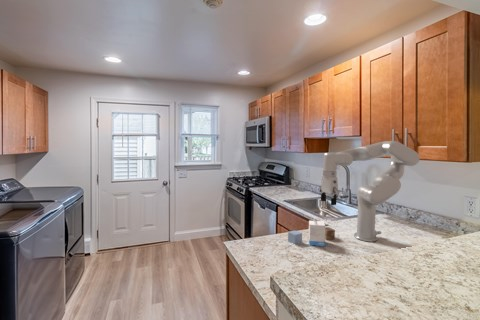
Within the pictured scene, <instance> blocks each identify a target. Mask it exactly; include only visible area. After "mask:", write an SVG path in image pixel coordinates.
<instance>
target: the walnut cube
mask: <svg viewBox="0 0 480 320" xmlns="http://www.w3.org/2000/svg"><path fill="white" fill-rule="evenodd" d="M335 236H336V230H335V229H334V228H332V227H330V226H328V227H326V226H325V241H330V240H335V238H336V237H335Z"/></svg>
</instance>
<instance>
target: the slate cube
mask: <svg viewBox="0 0 480 320" xmlns="http://www.w3.org/2000/svg"><path fill="white" fill-rule="evenodd" d="M287 242H289V243H291V244H292V243H293V244H292V245H294V244H295V245H298V244H297V243H299V244H301V242H302V243H303V233H302V232H300V231H297V230H295V229H294V230H291V231H288V232H287Z"/></svg>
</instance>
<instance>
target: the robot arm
mask: <svg viewBox="0 0 480 320" xmlns="http://www.w3.org/2000/svg"><path fill="white" fill-rule="evenodd" d="M387 156H388V157H389V156H390V165H389V167H388V168H387V169H385V171H383V172H382V173H380V174H378V175H377V176H375V178H374V179H373V181H372V185H369V184H362V185H360V186H359V187H358V188H357V191H356V199H357V219H356V232H355V233H354V234H353V237H354V238H355V239H357V240H360V241H363V242H373V243H374V242H377V241H378V239H379V238H378V236H377V235H382V231H381V230H376V213H377V210H376V209H377V207H376V206H379V205H381V204H384V203H385V202H387V201H388V200H389V199H390V198H392V197H393V196H395V195H396V194H397V193H398V192H399V191H400V190H401V187H402V182H401V180H400V179H402V178H403V176H404V174H405V166H407V167H413V166H417V164H418V163H419V162H420V155H419V153H418V152H417V151H415V150H414V149H412V148H411V147H408V146H406V145H404V144H403V143H401V142H399V141H396V140H385V141H380V142H375V143H372V144H367V145H364V146H360V147H354V148H350V149H344V150H342V151H338V152H324V154H323V161H322V162H323V163H322V164H323V165H322V167H323V168H322V178H321V184H320V186H319V192H320V201H321V202H326V201H327V194H328V195H330V196H331V198H330V205H331V206H336V205H337V199H338V197H339V194H340V191H339V180H338V177H337V174H338V173H337V172H338V166H344V167H347V166H350V165H351V164H352V163H353V162H357V161H358V162H364V161H371V160H374V159H378V158H382V157H383V158H384V157H387Z"/></svg>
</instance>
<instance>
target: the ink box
mask: <svg viewBox="0 0 480 320" xmlns="http://www.w3.org/2000/svg"><path fill="white" fill-rule="evenodd" d="M325 227H326V224H325V221H323V220H316V218H315V217H313V220H308V244H309V246H311V245H316V246H317V247H326V239H325ZM316 246H315V247H316Z"/></svg>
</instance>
